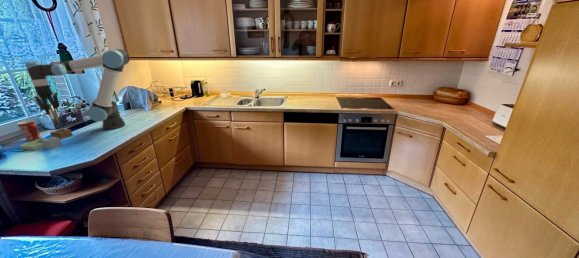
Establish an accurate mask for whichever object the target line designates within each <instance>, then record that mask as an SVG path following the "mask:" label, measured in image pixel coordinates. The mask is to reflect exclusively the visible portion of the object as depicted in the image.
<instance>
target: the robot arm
mask: <svg viewBox="0 0 579 258" xmlns="http://www.w3.org/2000/svg"><path fill="white" fill-rule="evenodd" d="M130 58H131V57H130V55H129V53H128V52H127V51H126V50H124V49H121V48H115V49H108V50H106V51H105V52H103V54H101V55H94V56H91V57H84V58H77V59H73V60H69V61H62V62H57V63H50V64H49V63H48V64H42V63H41V61H28V62H27V61H26V62H25V67H26V71H27V73H28V76H29V77H30V79H31V80H30V81H31V82H32V85H33V86H34V87H33V88H34V89H35V92H36V95H35V96H33V97H32V98H33V99H34V100H35V102H36V103H37V105H38V107H39V109H40V110H41V111H45V114H46V115H48V118H49V119H50V120H52V119H54V117H53V115H52V113H51V110H49V108H48V104H52V105H53V107H54V110H55V112H56V115H57V117H58V118H60V115H59V110H58V108H59V107H60V106H61V105H60V102H59V98H58V93H57V92H53V91H52V89H51V85H50V84H49V81H48V78H47V77H50V76H51V77H53V76H54V77H55V76H58V77H59V76H64V75H66V74H69V73H73V72H78V71H84V70H90V69H94V68H100V67H102V68H104V69H103V73H102V78H101V80H100V84H99V88H98V92H97V95H96V98H95V99H93V100H92V103H91V107H89V108H88V109H87V112H86V113H87V115H88V117H89V119H90V120H93V121H95V122H102V129H103V130H107V131H110V130H116V129H120V128H122V127H125V126H126V123H125V120H124V119H123V117H121V114H120V110H119V107H118V104H117V101H116V99H115V98H113V96H114V93H115V88H116V85H117V82H118V78H119V75H120V73H122V72H123V70H124V68H125V66H126V65H128V64H129V62H130ZM48 101H49V103H48Z"/></svg>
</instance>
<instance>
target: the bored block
mask: <svg viewBox="0 0 579 258" xmlns="http://www.w3.org/2000/svg"><path fill="white" fill-rule="evenodd" d="M49 134H50V136H51V137H58V138H59V139H60V141H61V140H64V139H67V138H70V137H72V136H73V132H72V130H71V129H70V128H60V129H57V130H54V131H50V132H49Z"/></svg>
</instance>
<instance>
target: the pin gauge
mask: <svg viewBox="0 0 579 258" xmlns="http://www.w3.org/2000/svg"><path fill="white" fill-rule="evenodd" d="M47 104H48V108H49V110H51V113H52V115H53V117H54V119H51V120H52V121H53V124H54V125H55V124H60V120H59V117H57V115H56V112H55V110H54V107H53V105H52V104H51V103H47Z"/></svg>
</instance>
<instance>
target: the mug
mask: <svg viewBox="0 0 579 258" xmlns="http://www.w3.org/2000/svg"><path fill="white" fill-rule="evenodd" d="M16 125H17V126H18V128H19V129H20V131H21V132H22V135H23V136H24V138H25V140H26V141H27V142H31V141H34V140H37V139H40V138H42V137H41V134H40V132H39V128H38V126H37V123H36V120H34V119H29V120H23V121H19V122H17V123H16Z"/></svg>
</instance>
